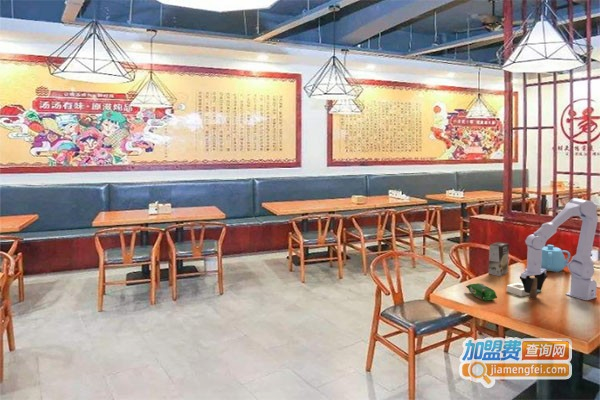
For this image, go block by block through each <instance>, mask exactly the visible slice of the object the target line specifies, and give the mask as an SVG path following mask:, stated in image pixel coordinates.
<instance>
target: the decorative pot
mask: <svg viewBox="0 0 600 400" xmlns="http://www.w3.org/2000/svg"><path fill="white" fill-rule="evenodd" d="M564 253H565V254H567V258H566V257H565V254H564ZM570 258H571V253H570V252H569V251H568V250H562V249H561V248H559V247H557V246H555V245H553V244H546V245H545V246H544V247H543V248H542V263H541V268H543V269H546V271H548V272H549V271H551V272H554V273H559V272H562V271H563V270H564V269H565V268H568V264H569V263H570V261H569V260H570Z"/></svg>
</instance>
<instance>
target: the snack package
mask: <svg viewBox="0 0 600 400" xmlns="http://www.w3.org/2000/svg"><path fill="white" fill-rule="evenodd" d="M465 288H467V289H468V291H469V293H470V294H471V295H473V296H474V297H476V298H478V299H479V300H481V301H483V302H484V301H493V300H495V299H498V296H497V294H496V291H495V290H494V289H492V287H491V288H490V287H489V286H487V285H485V284H483V283H470V284H468V285H465Z"/></svg>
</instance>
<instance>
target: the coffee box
mask: <svg viewBox="0 0 600 400" xmlns="http://www.w3.org/2000/svg"><path fill="white" fill-rule="evenodd" d="M509 249H510V243H506V242H500V241H498V242H493V243H490V244H489V251H488V252H489V253H488V254H489V256H488V257H489V258H488V274H489V275H491V276H492V275H493V276H498V277H502V276H504V275H506V274H508V273H509V258H510V257H509V255H510V250H509Z"/></svg>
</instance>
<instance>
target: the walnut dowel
mask: <svg viewBox="0 0 600 400" xmlns="http://www.w3.org/2000/svg"><path fill="white" fill-rule="evenodd" d="M530 278H531V279H534V280H533V282H532V285H531V291H530V293H529V295H528V297H529V298H530V299H531V298H532V299H533V300H535V299H536V300H537V297H538V296H537V295H538V294H537V293H538V292H537V278H535V277H534V276H530ZM529 298H528V299H529ZM532 299H531V300H532Z"/></svg>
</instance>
